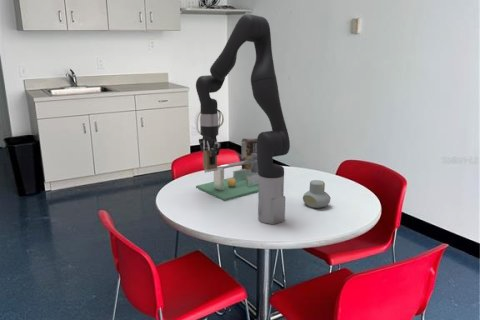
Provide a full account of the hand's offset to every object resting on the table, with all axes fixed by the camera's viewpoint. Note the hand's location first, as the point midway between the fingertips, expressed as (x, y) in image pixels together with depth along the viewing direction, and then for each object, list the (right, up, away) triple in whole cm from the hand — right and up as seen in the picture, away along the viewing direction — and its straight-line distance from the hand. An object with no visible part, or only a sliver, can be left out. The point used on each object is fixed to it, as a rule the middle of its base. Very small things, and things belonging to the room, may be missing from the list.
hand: (210, 163), depth 183 cm
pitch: (+9, -11, +10) cm, 18 cm away
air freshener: (+44, -17, -10) cm, 48 cm away
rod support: (+21, -9, +19) cm, 30 cm away
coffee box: (+18, -4, +40) cm, 44 cm away
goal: (+15, -9, +15) cm, 23 cm away
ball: (+9, -8, +10) cm, 16 cm away
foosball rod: (+10, -10, +11) cm, 18 cm away
